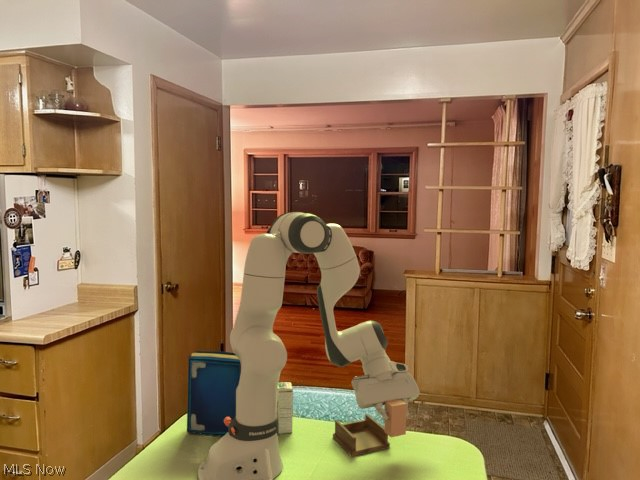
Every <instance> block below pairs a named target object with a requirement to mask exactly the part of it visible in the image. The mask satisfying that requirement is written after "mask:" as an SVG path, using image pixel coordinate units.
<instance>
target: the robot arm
mask: <svg viewBox="0 0 640 480" xmlns="http://www.w3.org/2000/svg"><path fill="white" fill-rule="evenodd" d="M293 253H295V254H296V253H297V254H303V255H312V254H313V255H314V256H315V258H316V261H317V264H318V266H319V267H318V268H319V269H320V273H321V278H320V283H319V285H318V286H316V296H317V297H316V298H317V301H318V302H317V303H318V311H319V313H320V314H319V316H320V319H321V325H322V329H323V333H324V345H325V348H324V349H325V354H326V357H327V359H328V361H329V362H330V364H332V365H334V366H337V367H340V368H344V367H345V366H348V365H350V364H352V363H353V362H356V361H358V360H360V362H361V365H362V366H361V367H362V369H363V373H364V375H363V374H362V375H357V376H354V377H353V378H352V379H351V386H352V388H353V391H354V394H355V395H354V396H355V399H356V400H355V401H356V404H357V406H358V408H360V409H361V410H363V409H364V410H365V409H370V408H375V410H376V412H378V413H379V414H380V416H381V417H382V419H383V421H384V422H385V421H386V420H389V419H390V415H389V412H386V411H385V408H383V406H385V402H387V401H392V400H398V399H400V400H402V401H404V402H405V403H407V413H406V417H409V416H410V411H409V409H408V408H409V401H414V400H417V398H418V397H419V396H420V392H421V391H420V389H419V386H418V383H417V381H416V380H415V378H414V377H413V375H412V374H411V373H410V372H409V366H408V365H407V364H405V363H400V362H395V361H394V360H391V359H390V357H389V356H388V355H387V352H386V349H387V347H388V344H389V341H388V338H387V337H386V334H385V332H384V328H383V326H382V324H381V323H379V322H377V321H375V320H367V321H364V322H360V323H359V324H357V325H354V326H351V327H349V328H346V329H343V330H339V331H338V330H337V326H336V325H337V324H336V320H335V314H334V308H335V305H336V303H337V302H338V301H339V300H340V299H341V298H342V297H343V296H344V295H345V294H347V293H348V292H349V291H350V290H352V289H353V287H354V286H355V285H356V283H357V282H358V279H359V277H360V274H361V270H360V265H359V260H358V257H357V254H356V252H355V249H354V247H353V245H352V243H351V240H350V238H349V236H348V235H347V233H346V232H345V230H344V228H343V227H342V226H341V225H339V224H337V223H331V222H330V223H326V222H325V221H324V220H323V219H322V218H320V217H319V216H317V215H315V214H313V213H308V212H307V213H305V212H301V211H291V212H284V213H282V214H280V215H279V216H277V217H276V218H275V219H274V220H273V222H272V224H271V225H270V227H269V228H268V230H266V232H265V233H260V234H257V235H255V236H254V237H253V238H252V239H251V241H250V242H249V246H248V250H247V253H246V257H245V263H244V269H243V275H242V276H243V277H242V285H241V286H242V287H241V296H240V302H239V307H238V310H237V314H236V316H235V317H236V318H235V321H234V325H233V328H232V329H231V331H230V334H229V342H230V347H231V350H232V353H234V354H235V355H236V356H237V357H238V358H239V360H240V363H241V375H240V380H239V385H238V386H237V388H236V416H235V418H234V419H233V420H231V418H230V417H225V419H224V423H225V425H226V426H228V433H227V434H225V435H224V436H221V438H220V439H218V440H217V441H216V442H214V443H213V444H212V445H211V446H210V448H209V450H208V453H207V456H206V457H207V458H206V460H205V461H203V462H201V463H200V465H199V466H198V469H197V479H198V480H274V479H275V478H276V477H277V476H278V475H280V474H281V472H282V471H283V468H284V465H283V460H282V458H281V454H280V453H281V452H280V447H279V446H280V445H279V439H278V438H279V437H278V436H279V418H278V415H277V388H278V383H279V381H280V377H281V373H282V370H283V369H284V368H285V366H286V364H287V360H288V352H287V351H288V350H287V349H286V346H285V344H284V343H283V341H282V339H281V338H280V337H279V336H278V335H277V334H276V333H274V331H273V330H274V329H273V327H274V323H275V320H276V317H277V314H278V312H279V310H280V309H281V308H282V305H283V297H284V289H285V279H286V268H287V267H286V265H287V262H288V261H289V257H290V256H291V255H292V254H293Z"/></svg>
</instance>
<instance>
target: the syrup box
mask: <svg viewBox="0 0 640 480" xmlns="http://www.w3.org/2000/svg"><path fill="white" fill-rule="evenodd" d="M293 410H294V387H293V384H292V382H290V381H289V382H287V381H281V382H278V388H277V415H278V418H279V434H290V433H293ZM279 434H278V435H279Z"/></svg>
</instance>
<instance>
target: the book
mask: <svg viewBox="0 0 640 480" xmlns="http://www.w3.org/2000/svg"><path fill="white" fill-rule="evenodd" d="M187 362H188V363H187V364H188V366H187V367H188V368H187V372H188V373H187V403H186V404H187V413H186V414H187V415H186V433H190V434H197V435H198V434H199V435H206V436H218V437H223V436H224V435H225V434H227V433H228V426H226V425H225V423H224V419H225V417H230V418H231V420H233V419H234V418H235V416H236V388H237V386H238V385H239V380H240V375H241V363H240V360H239V358H238V357H237V356H236V355H235V354H234V352H230V351H229V352H228V351H219V350H218V351H217V350H195V351H194V352H192V353H191V356H190V355H188V361H187Z"/></svg>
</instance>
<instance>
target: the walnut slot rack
mask: <svg viewBox="0 0 640 480" xmlns="http://www.w3.org/2000/svg"><path fill="white" fill-rule="evenodd" d="M364 416H365V417H364V418H365V419H360V420H357V421H352V422H345V423H341V422H340V421H339V420H337V419H335V420H334V432H333V433H332V438H333V439H334V440H335V442H337V444H338V445H340V446H341V448H342V449H344V451H345V452H346V453H347V454H348V455H349V456H350V457H353V456H359V455H362V454H366V453H371V452H376V451H379V450H384V449H387V448H390V447H391V445H390V444H391V443H390V442H389V435H387V434H386V433H385V426H383V425H382V424H380V423H379V422H378V421H377V420H375V418H373V417H372V416H371V415H369V414H368V413H366V414H365V415H364Z"/></svg>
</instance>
